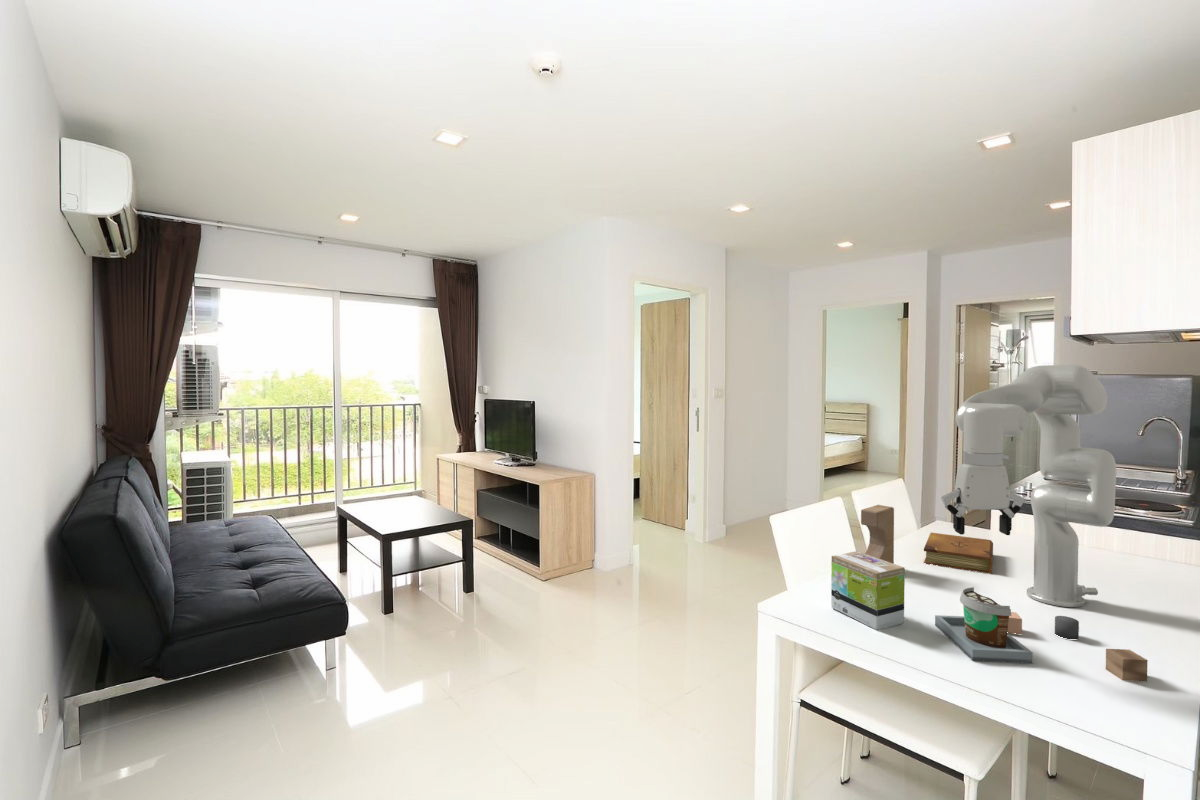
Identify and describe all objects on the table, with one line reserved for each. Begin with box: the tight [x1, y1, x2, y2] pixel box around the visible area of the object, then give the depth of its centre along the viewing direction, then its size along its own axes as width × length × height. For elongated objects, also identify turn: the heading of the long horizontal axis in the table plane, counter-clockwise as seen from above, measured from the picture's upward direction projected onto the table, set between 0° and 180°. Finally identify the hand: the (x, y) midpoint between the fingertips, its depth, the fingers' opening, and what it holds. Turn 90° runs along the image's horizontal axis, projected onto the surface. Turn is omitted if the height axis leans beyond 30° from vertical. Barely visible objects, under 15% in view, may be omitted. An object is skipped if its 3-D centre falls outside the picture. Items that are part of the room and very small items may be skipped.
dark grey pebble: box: [1054, 615, 1080, 640], centre depth 135 cm, size 4×4×4 cm
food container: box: [959, 587, 1012, 648], centre depth 132 cm, size 12×6×10 cm, turn 4°
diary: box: [923, 532, 994, 575], centre depth 192 cm, size 23×19×6 cm
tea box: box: [830, 550, 906, 631], centre depth 148 cm, size 15×10×15 cm, turn 23°
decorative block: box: [860, 504, 895, 564], centre depth 182 cm, size 11×6×20 cm, turn 126°
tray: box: [934, 615, 1034, 664], centre depth 132 cm, size 12×18×2 cm, turn 172°
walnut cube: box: [1105, 648, 1148, 682], centre depth 117 cm, size 4×4×4 cm
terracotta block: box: [1008, 611, 1023, 635], centre depth 139 cm, size 5×4×4 cm
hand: (982, 533), depth 131 cm, fingers open, 9 cm apart
